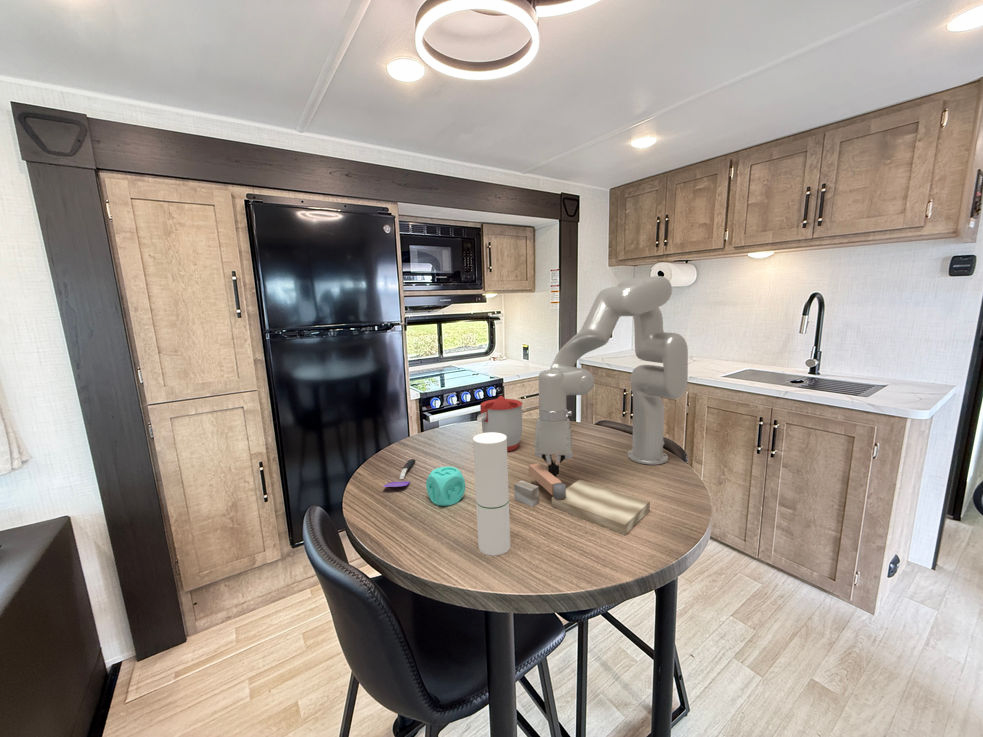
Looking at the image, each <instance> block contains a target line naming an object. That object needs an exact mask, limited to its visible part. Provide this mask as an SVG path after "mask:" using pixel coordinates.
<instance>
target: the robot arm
mask: <svg viewBox="0 0 983 737" xmlns="http://www.w3.org/2000/svg"><path fill="white" fill-rule="evenodd" d="M672 292H673V288H672V283H671V281H670V280H669V279H668V278H666V277H664V276H662V275H661V276H660V275H659V276H658V275H657V276H656V275H655V276H647V277H645V276H644V277H634V278H628V279H624V280H622V281H621V282H619V283H618V284H617V285H616V286H612V287H606V288H604V289H602V290H600V291H599V292H598V294H596V298H595V300H594V301H593V303H592V306H591V308H590V310H589V311H588V312H589V313H588V314H587V316H586V318H585V321H584V322H583V324H582V326H581V329H580V330H579V331H578V332H577V333H576V334H575V335H574V336H572V337H571V338H570V339H569V340H568V341H567V342H566V343H565V344H564V345H563V346H562V347H561V348H560V349H559V351H557V353H556V355H555V357H554V359H553V361H552V364H551V366H550V369H549V370H548V369H547V370H542V371H540V372H539V373H538V380H537V382H538V410H539V411H538V414H539V415H538V416H539V417H537V418H536V423H535V424H536V425H535V433H534V448H535V449H534V450H535V451H534V457H537V458H540V459H542V460H544V462H546V464H547V466H548V467H547V468H548V470H547V471H549V472H550V473H551V474H552V475H554V476H555V477H556V478H557V477H558V475H560V464H561V463H562V462H564V461H565V460H569V459H572V458H573V456H574V455H573V451H572V448H573V447H572V446H573V440H572V427H571V422H570V418H569V417H572V414H573V411H572V410H568V409H567V396H583V395H586V394H588V393H590V392H591V391H592V389H593V388H594V385H595V377H594V376H593V373H591V372H590V370H587V369H586V368H582V367H576V366H575V364H577V362H578V360H579V359H581V357H583V356H584V355H586V354H587V353H590V352H592V351H594V350H597V349H599V348H601V347H603V346H605V345H607V343H608V342H609V341H610V339H611V336H612V334H613V332H614V330H615V328H616V325H617V323H618V321H619V319H620V317H633V318H632V319H633V325H634V326H633V328H634V353H635V356H636V357H637V359H639V360H641V361H645V362H648V363H649V362H651V363H658V364H659V363H661V364H662V365H663V366H661V365H655V364H654V365H653V364H641V365H638V366H636V367H635V368H634V369H633V370H632V371H631V372H630V373H631V374H630V380H629V382H630V387H631V394H632V405H633V406H632V409H633V410H632V449H629V450H628V451H627V458H628V459H629V458H630V459H629V460H631V461H633V462H635V463H639V464H643V465H653V466H654V465H663V464H665V463H667V462H668V460H669V456H668V454H667V453H665V452H664V445H665V441H664V430H665V429H664V425H665V423H664V422H665V407H664V406H665V405H664V402H663V400H662V398H665V399H669V400H678V399H680V398H682V397H683V396H684V395H685V393H686V390H687V389H688V379H689V378H688V377H689V376H688V375H689V374H688V373H689V372H688V371H689V364H688V363H689V362H688V361H689V350H688V349H689V348H688V345H687V341H686V339H685V338H684V337H683V336H682V335H681V334H680V333H676V332H665V331H664V322H663V318H664V317H663V314H662V311H661V309H660V308H661V307H662V306H664V305H665V304H666V303H668V301H669V300H670V298H671V296H672ZM552 456H556V457H555V460H553V457H552ZM557 479H558V478H557Z"/></svg>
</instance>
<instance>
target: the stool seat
mask: <svg viewBox="0 0 983 737" xmlns="http://www.w3.org/2000/svg"><path fill="white" fill-rule="evenodd" d="M513 489H514V491H513V492H514V500H515V501H516V502H520V503H521V504H525V505H527V506H529V507H534V506H536V505H537V504H538V503H539V502H540V500H539V499H540V496H539V493H540V492H539V491H540V490H539V485H535V484H532V483H530V482H527V481H524V480H520V481H517V482H516V483H514V484H513ZM650 503H651V501H649V500H648V499H647V500H646V499H645V498H644V499H643V498H640V497H637V496H634V495H631V494H628V493H625V492H621V491H618V490H614V489H612V488H608V487H605V486H602V485H599V484H596V483H592V482H589V481H586V480H584V479H579V480H577V481H574V483H573V484H571V485H569V486H567V487H566V498H564V499H556V498H554V496H552V497H551V508H554V509H557V510H559V511H561V512H562V511H563V512H565V513H567V514H570V515H572V516H575V517H577V518H580V519H582V520H585V521H588V522H591V523H593V524H595V525H598V526H600V527H602V528H605V529H608V530H611V531H613V532H616V533H619V534H621V535H624V536H626V535H627V534H628V533H629V532H630V531H631V530H632V528H634V527H635V526H636V524H638V523H639V521H641V520H642V519H643V517H644V516H646V515H647V514H648V512H650V509H651V508H650V505H651V504H650Z"/></svg>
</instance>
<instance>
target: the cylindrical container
mask: <svg viewBox="0 0 983 737" xmlns="http://www.w3.org/2000/svg"><path fill="white" fill-rule="evenodd" d="M472 444H473V445H472V446H473V461H474V462H473V463H474V464H473V465H474V466H473V467H474V468H473V469H474V483H475V485H474V486H475V487H474V488H475V501H476V502H475V503H476V504H475V505H476V524H477V525H476V526H477V542H478V545H477V547H478V550H479V551H480V552H481V553H482V554H484V555H486V556H491V557H492V556H500V555H503V554H505V553H507V552H508V551H509V550H510V549H511V526H510V525H511V522H510V521H511V519H510V514H509V509H510V494H509V490H508V485H509V468H508V466H509V465H508V451H507V437H506V435H504V434H502V433H496V432H488V433H483V432H482V433H479V434H476V435H474V436H473V438H472Z"/></svg>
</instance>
